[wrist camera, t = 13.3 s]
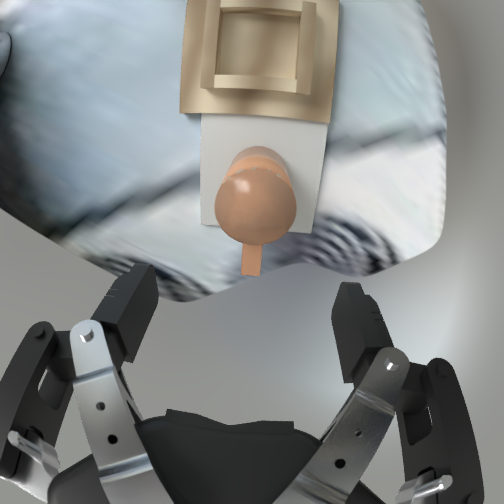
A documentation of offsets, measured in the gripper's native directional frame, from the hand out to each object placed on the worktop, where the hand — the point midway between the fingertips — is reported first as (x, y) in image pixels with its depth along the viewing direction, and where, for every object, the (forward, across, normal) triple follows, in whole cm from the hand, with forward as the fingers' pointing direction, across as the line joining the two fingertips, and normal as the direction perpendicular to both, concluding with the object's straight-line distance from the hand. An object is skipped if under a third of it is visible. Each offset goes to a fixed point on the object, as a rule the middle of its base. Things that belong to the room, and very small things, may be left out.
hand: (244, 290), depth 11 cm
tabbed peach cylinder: (+17, 0, +2) cm, 17 cm away
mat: (+18, 0, 0) cm, 18 cm away
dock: (+18, +1, -13) cm, 22 cm away
